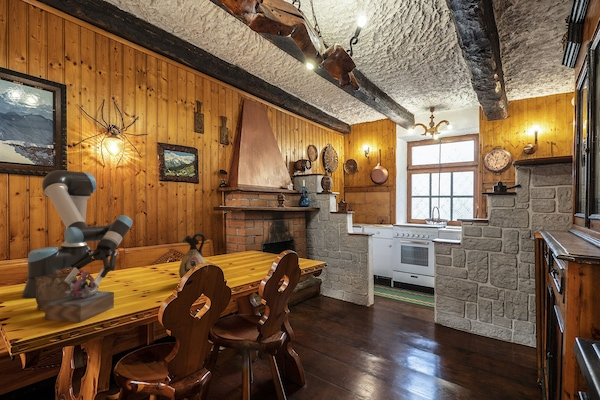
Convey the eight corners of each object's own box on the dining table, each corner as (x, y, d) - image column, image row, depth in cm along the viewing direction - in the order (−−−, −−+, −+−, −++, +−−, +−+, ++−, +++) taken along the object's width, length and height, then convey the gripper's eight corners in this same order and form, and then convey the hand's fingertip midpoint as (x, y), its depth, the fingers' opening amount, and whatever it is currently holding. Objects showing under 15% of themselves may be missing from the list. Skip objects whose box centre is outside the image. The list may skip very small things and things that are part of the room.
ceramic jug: (179, 288, 162) (179, 234, 162) (178, 281, 176) (179, 232, 177) (210, 285, 169) (211, 233, 169) (208, 279, 183) (208, 231, 183)
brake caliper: (88, 295, 119) (72, 271, 119) (68, 310, 119) (51, 286, 120) (108, 287, 130) (93, 265, 131) (89, 301, 130) (75, 280, 131)
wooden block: (44, 320, 116) (45, 302, 117) (81, 305, 133) (82, 290, 133) (80, 322, 114) (80, 304, 115) (113, 307, 131) (113, 291, 131)
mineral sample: (81, 303, 136) (81, 271, 136) (78, 306, 132) (78, 273, 132) (35, 308, 130) (35, 274, 130) (30, 311, 126) (31, 276, 126)
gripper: (137, 248, 140) (112, 288, 125) (90, 247, 143) (61, 286, 128) (129, 238, 135) (102, 279, 119) (81, 237, 138) (49, 277, 123)
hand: (81, 283), depth 124 cm, fingers open, 13 cm apart
